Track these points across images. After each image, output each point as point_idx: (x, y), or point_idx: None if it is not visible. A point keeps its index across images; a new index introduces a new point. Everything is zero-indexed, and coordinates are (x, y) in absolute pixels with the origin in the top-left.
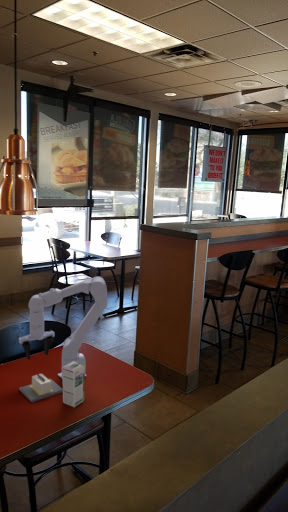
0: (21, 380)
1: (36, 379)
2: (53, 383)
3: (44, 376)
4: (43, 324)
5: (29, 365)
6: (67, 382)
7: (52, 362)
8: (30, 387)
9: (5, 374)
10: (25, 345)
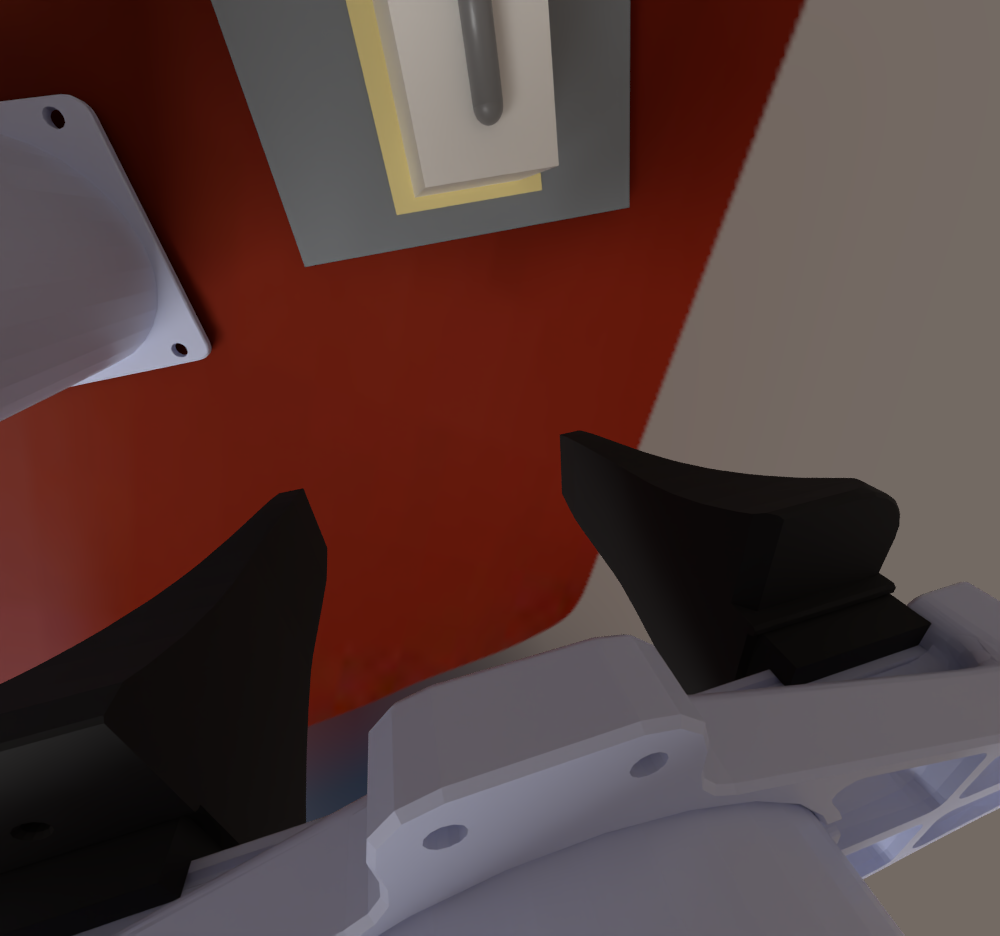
0: (549, 382)
1: (537, 1)
2: (277, 105)
3: (404, 43)
4: None
5: (437, 584)
6: None
7: None
8: None
9: None
10: (896, 503)
